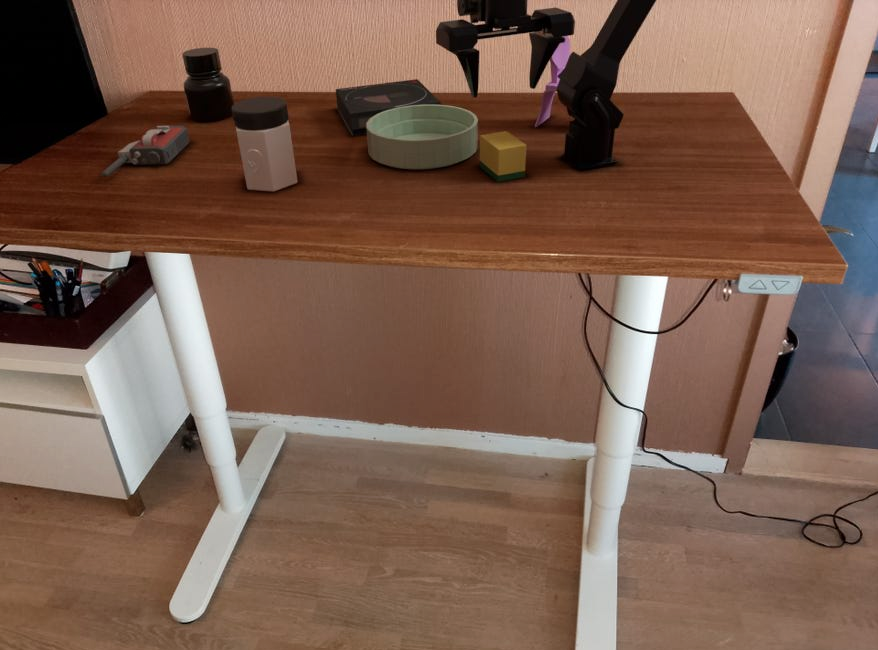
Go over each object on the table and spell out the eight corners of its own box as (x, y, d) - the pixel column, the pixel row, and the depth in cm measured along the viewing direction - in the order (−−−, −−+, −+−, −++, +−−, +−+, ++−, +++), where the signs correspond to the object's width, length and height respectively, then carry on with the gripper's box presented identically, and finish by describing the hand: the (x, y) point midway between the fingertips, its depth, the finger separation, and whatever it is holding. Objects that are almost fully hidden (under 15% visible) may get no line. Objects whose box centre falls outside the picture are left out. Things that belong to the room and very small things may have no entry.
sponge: (505, 161, 115) (506, 130, 112) (524, 177, 109) (526, 144, 106) (479, 166, 114) (479, 135, 111) (497, 182, 108) (498, 149, 105)
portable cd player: (353, 137, 128) (351, 114, 126) (337, 109, 142) (335, 89, 140) (442, 125, 131) (441, 103, 129) (418, 99, 145) (417, 79, 142)
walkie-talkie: (149, 140, 133) (100, 183, 117) (143, 116, 130) (91, 156, 114) (194, 140, 132) (151, 182, 116) (189, 115, 129) (144, 156, 113)
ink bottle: (216, 105, 149) (204, 44, 142) (246, 111, 145) (235, 48, 138) (179, 119, 143) (164, 55, 136) (209, 125, 138) (196, 60, 131)
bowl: (453, 127, 130) (453, 98, 127) (494, 160, 116) (495, 129, 113) (356, 142, 126) (353, 114, 123) (387, 179, 112) (384, 147, 109)
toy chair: (579, 135, 123) (588, 41, 114) (531, 128, 127) (536, 37, 118) (596, 120, 128) (606, 30, 120) (550, 115, 132) (555, 27, 124)
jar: (234, 189, 112) (218, 111, 105) (257, 170, 118) (244, 95, 111) (286, 193, 109) (274, 114, 102) (307, 173, 115) (297, 97, 108)
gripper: (542, -42, 104) (536, 71, 113) (420, -29, 100) (424, 87, 109) (581, -33, 95) (571, 88, 104) (449, -18, 91) (451, 107, 100)
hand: (503, 92), depth 105 cm, fingers open, 9 cm apart
